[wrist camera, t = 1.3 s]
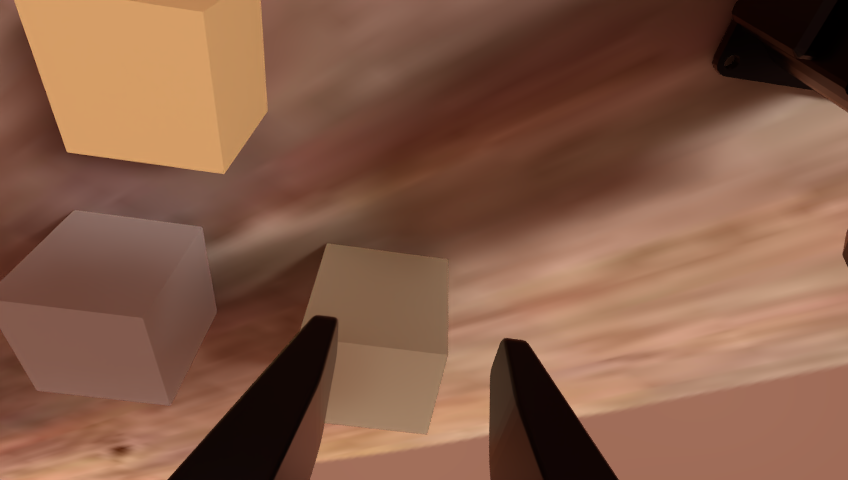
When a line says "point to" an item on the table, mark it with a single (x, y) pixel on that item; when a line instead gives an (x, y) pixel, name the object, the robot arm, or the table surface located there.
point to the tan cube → (384, 335)
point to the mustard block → (151, 77)
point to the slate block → (110, 307)
